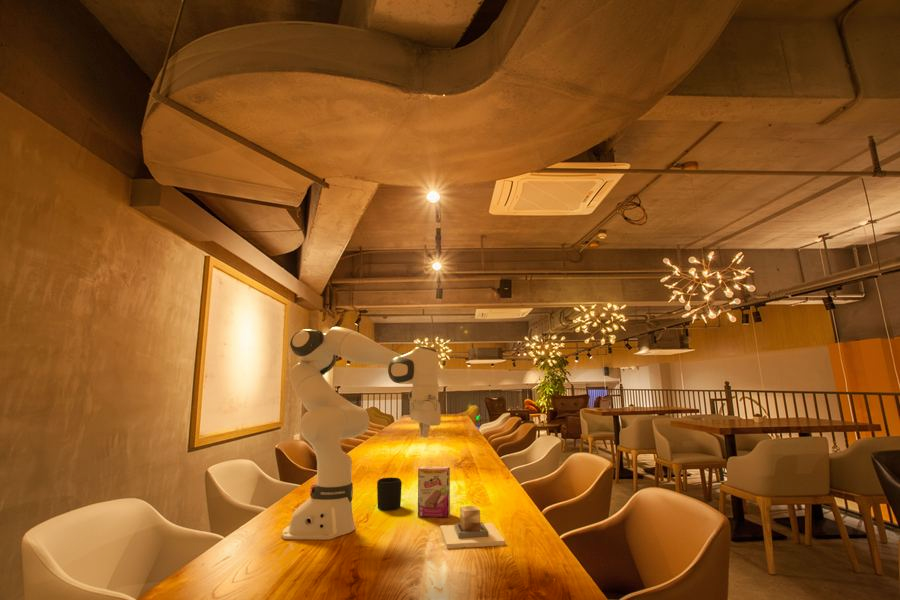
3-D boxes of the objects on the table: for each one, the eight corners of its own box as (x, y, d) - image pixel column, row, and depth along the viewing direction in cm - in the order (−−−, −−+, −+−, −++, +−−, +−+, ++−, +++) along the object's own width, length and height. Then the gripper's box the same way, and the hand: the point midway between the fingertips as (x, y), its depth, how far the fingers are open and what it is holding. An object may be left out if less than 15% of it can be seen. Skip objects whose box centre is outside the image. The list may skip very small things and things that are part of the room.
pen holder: (406, 506, 170) (406, 478, 172) (390, 512, 162) (391, 483, 164) (387, 503, 175) (387, 476, 177) (371, 508, 167) (372, 481, 169)
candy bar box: (417, 517, 155) (417, 468, 158) (419, 513, 160) (419, 466, 163) (449, 518, 154) (448, 468, 157) (450, 514, 159) (449, 466, 162)
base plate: (446, 548, 125) (446, 538, 126) (440, 529, 142) (440, 520, 142) (505, 545, 127) (504, 535, 128) (491, 526, 144) (491, 517, 145)
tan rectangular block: (464, 536, 132) (464, 511, 133) (460, 531, 137) (460, 506, 138) (480, 534, 133) (480, 509, 134) (475, 529, 138) (475, 505, 139)
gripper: (446, 396, 141) (445, 440, 139) (423, 393, 159) (422, 432, 157) (427, 396, 138) (426, 441, 136) (407, 393, 157) (405, 433, 155)
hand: (424, 436), depth 147 cm, fingers closed
